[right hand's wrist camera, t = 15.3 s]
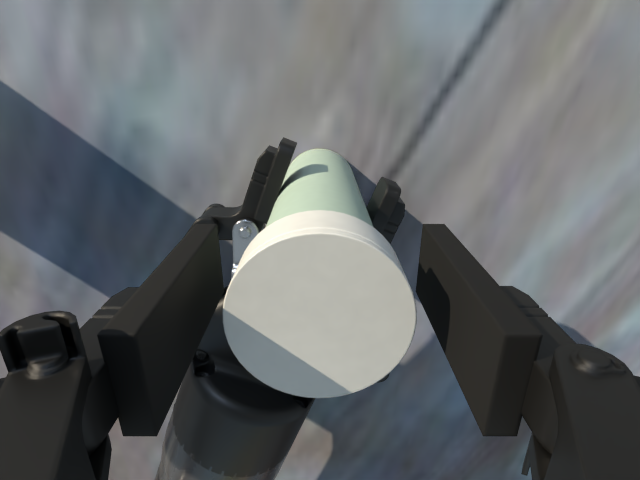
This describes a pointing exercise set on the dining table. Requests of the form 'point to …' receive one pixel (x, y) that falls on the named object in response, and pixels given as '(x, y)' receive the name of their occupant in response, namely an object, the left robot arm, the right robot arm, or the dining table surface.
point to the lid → (319, 306)
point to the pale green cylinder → (319, 187)
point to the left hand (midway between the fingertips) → (340, 164)
